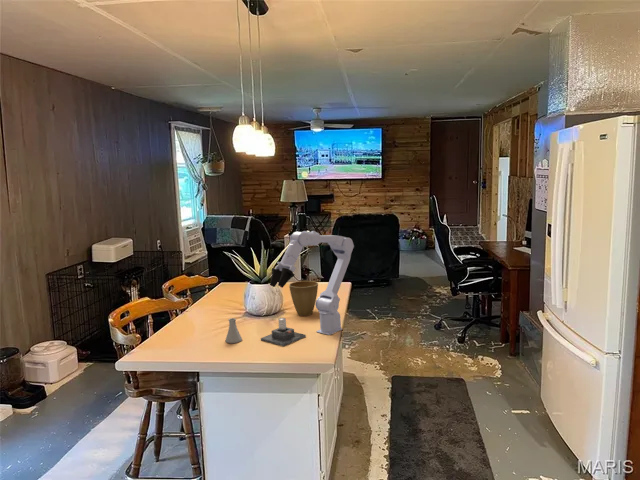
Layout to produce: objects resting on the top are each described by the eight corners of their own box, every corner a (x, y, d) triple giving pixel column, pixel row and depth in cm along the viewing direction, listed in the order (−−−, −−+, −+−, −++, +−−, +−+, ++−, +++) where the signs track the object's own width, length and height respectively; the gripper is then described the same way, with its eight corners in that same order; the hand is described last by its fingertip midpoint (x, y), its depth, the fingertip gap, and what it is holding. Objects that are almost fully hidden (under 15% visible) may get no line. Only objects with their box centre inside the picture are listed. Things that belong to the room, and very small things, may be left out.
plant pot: (307, 319, 239) (305, 288, 237) (285, 315, 248) (283, 285, 246) (325, 312, 251) (323, 282, 249) (303, 308, 260) (301, 279, 258)
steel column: (283, 334, 216) (282, 317, 215) (288, 335, 214) (287, 318, 213) (277, 336, 213) (276, 319, 212) (283, 337, 211) (282, 320, 210)
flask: (222, 341, 214) (220, 319, 213) (236, 337, 219) (234, 315, 218) (231, 345, 209) (229, 322, 208) (245, 340, 214) (243, 318, 213)
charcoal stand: (283, 331, 224) (282, 323, 223) (305, 336, 214) (305, 328, 214) (260, 340, 213) (260, 331, 213) (283, 346, 204) (282, 337, 203)
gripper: (275, 253, 206) (260, 281, 202) (291, 252, 194) (276, 281, 190) (288, 261, 209) (274, 289, 205) (304, 260, 197) (290, 290, 193)
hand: (276, 286), depth 198 cm, fingers open, 7 cm apart
